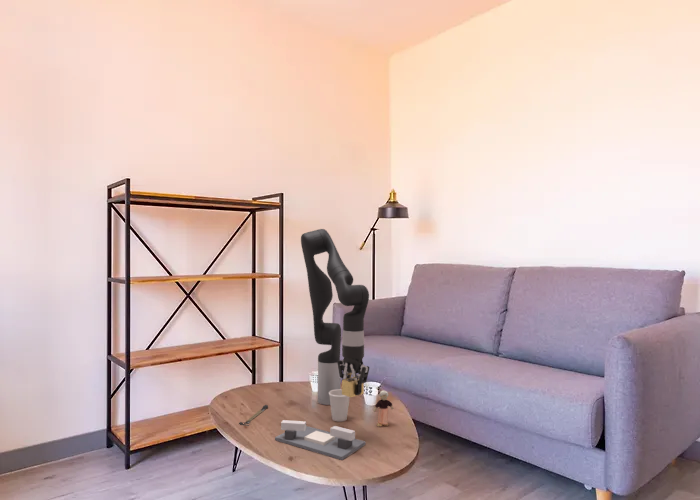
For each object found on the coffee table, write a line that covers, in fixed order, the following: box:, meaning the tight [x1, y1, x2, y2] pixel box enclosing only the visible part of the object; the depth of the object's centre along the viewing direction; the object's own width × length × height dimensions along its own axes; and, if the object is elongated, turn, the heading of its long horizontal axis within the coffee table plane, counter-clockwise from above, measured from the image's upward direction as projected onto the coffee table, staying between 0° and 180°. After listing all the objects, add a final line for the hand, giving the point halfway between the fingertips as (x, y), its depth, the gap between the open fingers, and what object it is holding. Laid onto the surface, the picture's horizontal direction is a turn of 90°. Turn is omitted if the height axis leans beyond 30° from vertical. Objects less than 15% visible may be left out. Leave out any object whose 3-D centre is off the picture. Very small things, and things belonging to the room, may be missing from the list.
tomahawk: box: [238, 404, 269, 427], centre depth 180 cm, size 21×7×1 cm, turn 164°
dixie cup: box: [329, 388, 351, 422], centre depth 179 cm, size 8×8×10 cm
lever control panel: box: [274, 419, 366, 461], centre depth 156 cm, size 27×14×6 cm, turn 57°
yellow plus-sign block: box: [341, 376, 365, 398], centre depth 161 cm, size 6×4×5 cm
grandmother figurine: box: [372, 390, 394, 427], centre depth 173 cm, size 8×4×13 cm, turn 118°
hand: (352, 392), depth 161 cm, fingers closed on yellow plus-sign block, 4 cm apart
